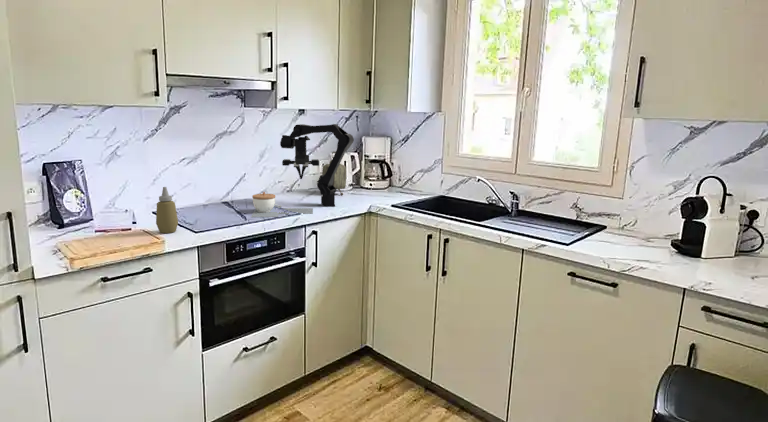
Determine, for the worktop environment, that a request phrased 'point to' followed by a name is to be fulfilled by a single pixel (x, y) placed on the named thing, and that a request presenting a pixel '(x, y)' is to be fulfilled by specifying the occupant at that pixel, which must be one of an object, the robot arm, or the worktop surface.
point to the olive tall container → (337, 176)
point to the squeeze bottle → (166, 213)
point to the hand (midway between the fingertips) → (301, 179)
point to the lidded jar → (264, 202)
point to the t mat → (275, 214)
